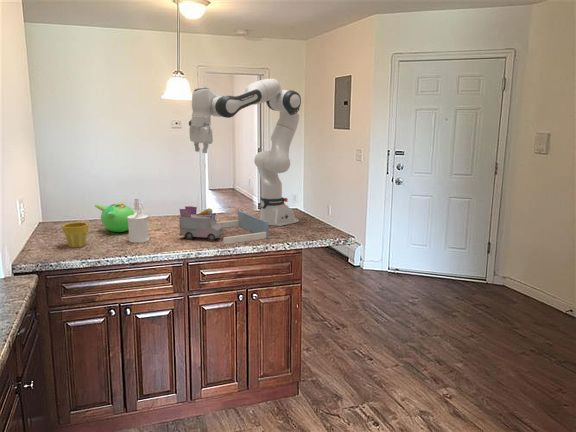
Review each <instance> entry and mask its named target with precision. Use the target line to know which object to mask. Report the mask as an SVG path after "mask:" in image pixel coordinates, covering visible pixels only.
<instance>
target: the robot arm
mask: <svg viewBox="0 0 576 432" xmlns="http://www.w3.org/2000/svg"><path fill="white" fill-rule="evenodd" d="M264 103H266V106H267V107H268V109H271V110H272V111H277V112H279V116H278V117H279V118H278V120H277V121H276V124H275V127H274V129H273V131H272V134H271V136H270V140H271V148H270V150H262V151H259V152H258V153H256V154H255V156H254V159H253V160H254V162H253V163H254V165H255V166H256V168H257V171H258V174H259V179H260V183H261V184H260V185H261V186H260V187H261V197H260V214H259V219H262V220H264V221H267V222H268V226H278V227H281V226H285V225H286V226H287V225H290V224H291V225H292V224H295V223H299V222H300V221H299V219H298V218H297V217H296V216H295V212H294V210H293V209H292V207H289V206H288V205H287V204H286V203H288V201H289V199H288V198H287V197H283V184H282V181H281V179H280V177H279V174H282V173H286V172H287V171H289V169H290V167H291V159H290V157H289V155H290V147H291V144H292V142H293V139H294V136H295V133H296V132H297V128H298V126H299V121H300V115H299V113H298V112H299V111H300V107H301V104H302V97H301V94H300V93H299V92H297V91H295V90H291V89H290V90H289V89H281V84H280V82H279V81H278V80H277V79H275V78H263V79H260V80H257V81H253V82H251V83H250V84H248V85H247V86H246V87H245V89H244V92H243V93H241V94H239V95H236V96H233V95H218V94H216V93H215V92H213V91H212V90H211V89H210V88H208V87H199V88H195V89H194V90H193V92H192V96H191V109H192V114H191V118H190V120H189V121H188V126H189V129H188V130H189V139H190V141H191V142H193V145H194V151H195V152H200V151H201V150H200V147H199V144H202V146H203V148H202V154H208V148H209V145H211V144H213V142H214V141H213V139H214V138H213V128H212V126H211V123H212V118H211V116H213V117H217V118H226V119H227V118H233V117H234V116H236V115H237V113H239V112H240V110H243V109H245V108H247V107H248V108H249V106H254V105H260V104H264Z"/></svg>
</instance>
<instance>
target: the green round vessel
mask: <svg viewBox="0 0 576 432" xmlns="http://www.w3.org/2000/svg"><path fill="white" fill-rule="evenodd" d="M94 207H95V208H97V209H99V210H100V211H101V214H100V220H101V223H102V226H104V228H106V229H107V230H108V231H110V232H114V233H122V232H127V231H129V229H128V219H127V217H128V216H130V215H134V211H135V210H134V209H133V208H131V207H130V206H129V205H127V204H125V202H124V201H123V202H119V203H118V202H117V203H115V204H111V205H108V206H105V205H99V204H95V205H94Z"/></svg>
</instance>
